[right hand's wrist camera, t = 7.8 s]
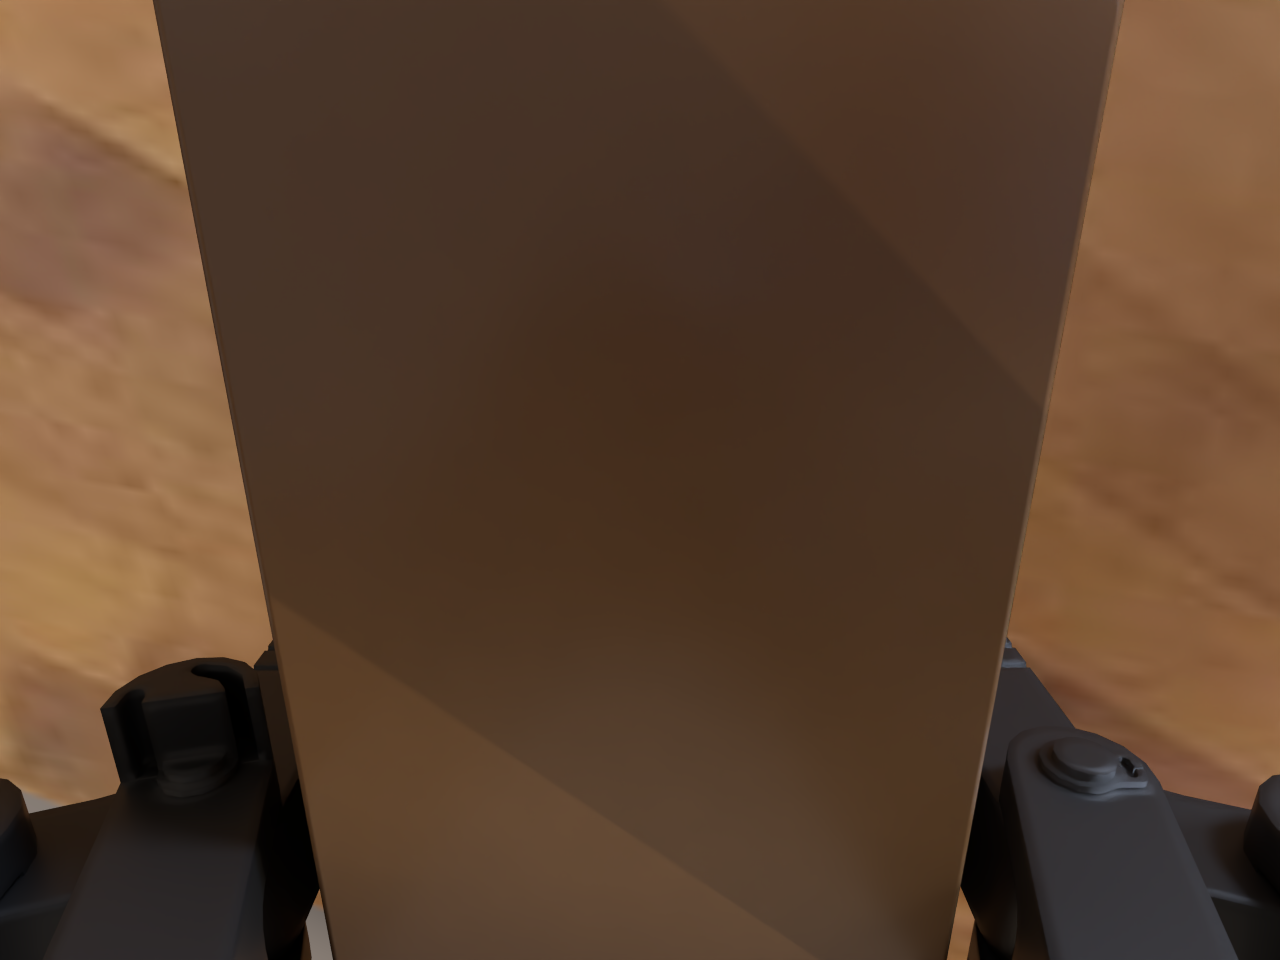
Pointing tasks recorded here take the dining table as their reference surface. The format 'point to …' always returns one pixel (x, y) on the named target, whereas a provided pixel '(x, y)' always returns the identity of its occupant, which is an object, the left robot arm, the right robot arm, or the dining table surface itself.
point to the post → (639, 443)
